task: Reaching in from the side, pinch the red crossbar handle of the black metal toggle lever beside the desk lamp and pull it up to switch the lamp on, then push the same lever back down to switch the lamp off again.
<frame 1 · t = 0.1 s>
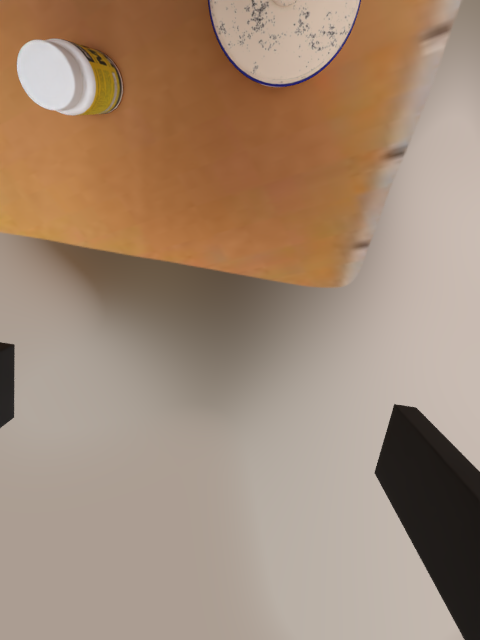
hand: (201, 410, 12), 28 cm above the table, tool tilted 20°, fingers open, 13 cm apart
supplement bottle: (98, 83, 31), on the table
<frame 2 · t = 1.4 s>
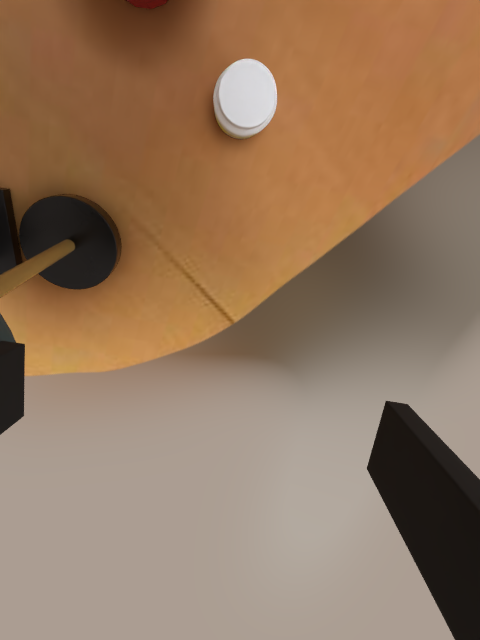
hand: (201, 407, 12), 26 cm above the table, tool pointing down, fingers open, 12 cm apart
supplement bottle: (240, 110, 31), on the table
desk lamp: (75, 241, 35), on the table
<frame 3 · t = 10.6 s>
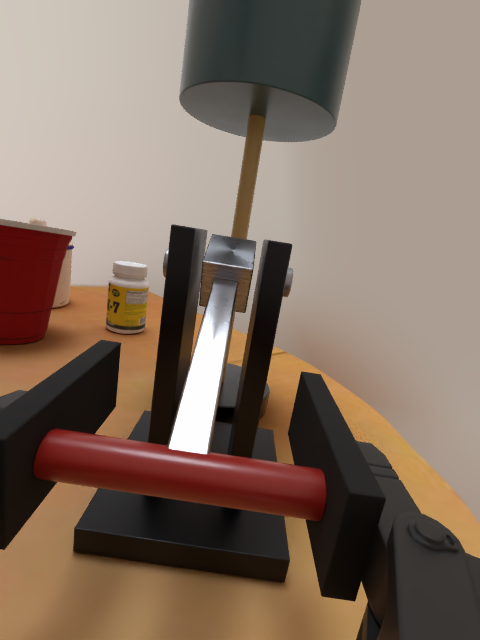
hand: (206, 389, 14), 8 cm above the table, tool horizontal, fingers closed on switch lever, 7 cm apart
supplement bottle: (125, 330, 44), on the table
switch lever: (214, 335, 13), point 10 cm above the table, hinge at -25.0°, touching gripper
lidded enamel mug: (25, 303, 49), on the table
desk lamp: (214, 399, 30), on the table
switch base: (196, 484, 19), on the table
plastic cup: (14, 336, 37), on the table
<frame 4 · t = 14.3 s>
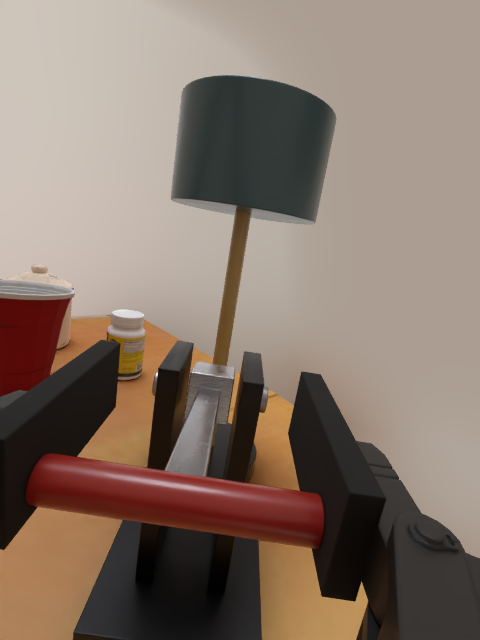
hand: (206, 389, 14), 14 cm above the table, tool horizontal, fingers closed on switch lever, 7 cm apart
supplement bottle: (122, 374, 47), on the table
switch lever: (202, 421, 14), point 13 cm above the table, hinge at 9.8°, touching gripper
lidded enamel mug: (27, 344, 51), on the table
desk lamp: (204, 460, 32), on the table
switch base: (184, 567, 21), on the table
plastic cup: (17, 390, 39), on the table
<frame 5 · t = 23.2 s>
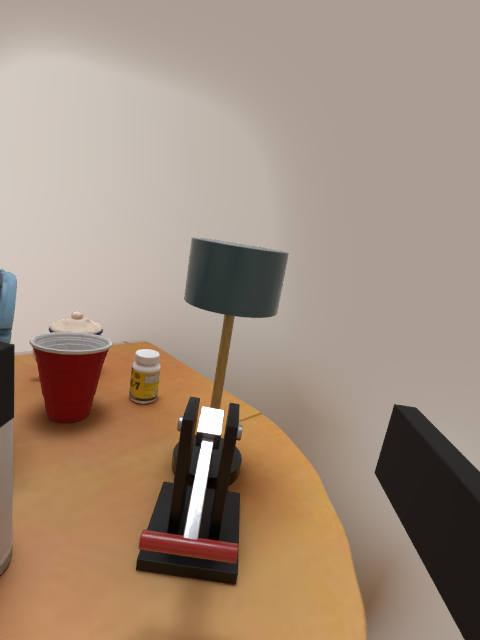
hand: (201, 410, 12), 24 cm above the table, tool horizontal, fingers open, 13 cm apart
supplement bottle: (143, 398, 61), on the table
switch lever: (201, 474, 29), point 10 cm above the table, hinge at -24.7°
lidded enamel mug: (66, 373, 65), on the table
desk lamp: (206, 465, 46), on the table
switch base: (194, 531, 36), on the table
plastic cup: (69, 413, 53), on the table
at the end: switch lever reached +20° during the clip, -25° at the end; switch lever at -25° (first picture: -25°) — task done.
